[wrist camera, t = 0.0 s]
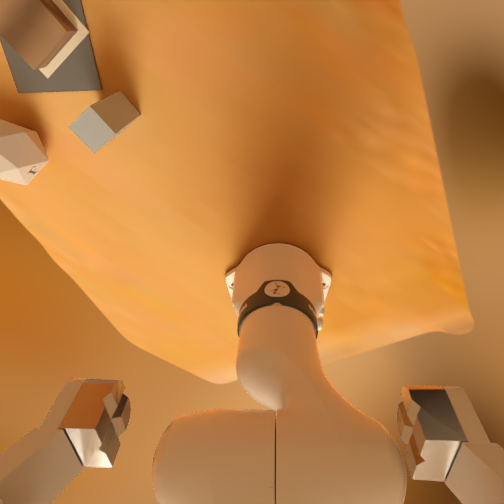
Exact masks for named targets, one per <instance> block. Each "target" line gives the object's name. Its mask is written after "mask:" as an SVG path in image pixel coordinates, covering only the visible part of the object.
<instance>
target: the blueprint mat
mask: <svg viewBox="0 0 504 504" xmlns="http://www.w3.org/2000/svg"><path fill="white" fill-rule="evenodd" d="M52 1H53V2H54V3H55V4H56V5H57V7H58V8H59V9H60V10H61V11H62V12H63V14H64V15H65V16H66V17H67V18H68V19H69V21H70V22H71V23H72V24H73V25H74V26H75V27H76V29H77V30H78V31H77V32H76V34H75V35H74V36H73V37H72V38H71V39H70V40H69V42H68V43H67V44H66V45H65V46H64V47H63V48H62V49H61V51H60V52H59V53H58V54H57V55H56V56H55V57H54V58H53V60H52V61H51V62H50V63H49V64H48V65H47V66H46V67H44V68H40V69H36V70H33V69H32V68H31V67H30V66H29V65H28V64H27V63H26V62H25V60H24V59H23V58H22V57H21V56H20V55H19V54H18V53H17V52H16V51H15V50H14V49H13V48H12V47H11V46H10V45H9V44H8V43H7V42H6V41H5V39H4V38H3V37H2V36H1V35H0V41H1V44H2V47H3V50H4V53H5V56H6V58H7V61H8V64H9V67H10V70H11V73H12V76H13V78H14V81H15V84H16V87H17V90H18V93H36V92H62V91H88V90H102V87H101V83H100V78H99V74H98V70H97V66H96V62H95V57H94V53H93V49H92V45H91V41H90V36H89V31H88V28H87V24H86V20H85V15H84V11H83V7H82V3H81V0H52Z"/></svg>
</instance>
